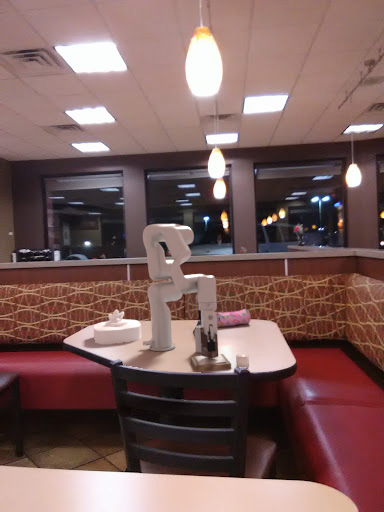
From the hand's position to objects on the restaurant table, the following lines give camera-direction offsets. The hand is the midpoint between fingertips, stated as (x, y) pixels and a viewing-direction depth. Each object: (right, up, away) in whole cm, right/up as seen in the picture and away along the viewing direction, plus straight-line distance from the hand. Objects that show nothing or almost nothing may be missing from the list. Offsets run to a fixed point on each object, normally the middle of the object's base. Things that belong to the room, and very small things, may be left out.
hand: (209, 348), depth 163 cm
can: (-2, -6, +20) cm, 21 cm away
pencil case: (+17, -4, +74) cm, 76 cm away
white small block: (+13, -6, -4) cm, 15 cm away
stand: (0, -7, 0) cm, 7 cm away
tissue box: (-48, -8, +56) cm, 74 cm away
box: (0, -4, 0) cm, 4 cm away
